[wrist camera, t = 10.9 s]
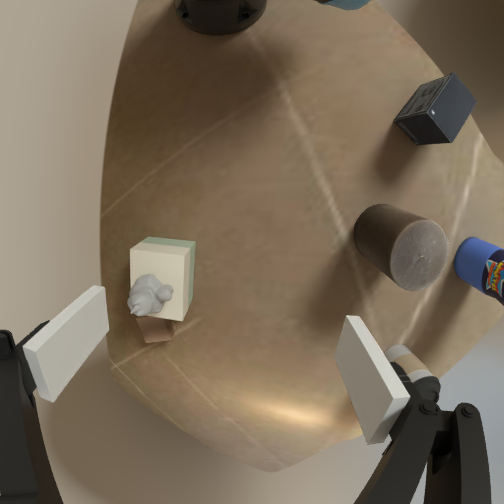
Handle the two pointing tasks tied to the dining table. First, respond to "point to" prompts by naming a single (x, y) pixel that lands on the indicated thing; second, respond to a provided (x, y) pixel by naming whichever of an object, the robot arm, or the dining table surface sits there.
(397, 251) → the pillar candle
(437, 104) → the small box
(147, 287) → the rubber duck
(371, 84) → the dining table surface
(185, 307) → the cream and green box
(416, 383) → the coffee cup
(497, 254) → the blue plastic bottle
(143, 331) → the brick
